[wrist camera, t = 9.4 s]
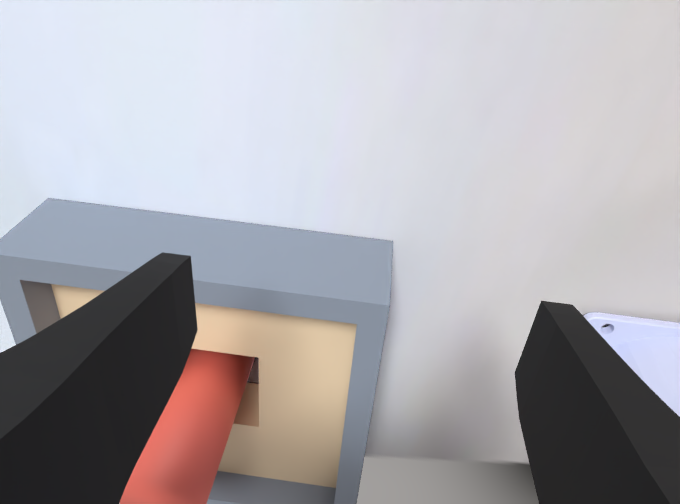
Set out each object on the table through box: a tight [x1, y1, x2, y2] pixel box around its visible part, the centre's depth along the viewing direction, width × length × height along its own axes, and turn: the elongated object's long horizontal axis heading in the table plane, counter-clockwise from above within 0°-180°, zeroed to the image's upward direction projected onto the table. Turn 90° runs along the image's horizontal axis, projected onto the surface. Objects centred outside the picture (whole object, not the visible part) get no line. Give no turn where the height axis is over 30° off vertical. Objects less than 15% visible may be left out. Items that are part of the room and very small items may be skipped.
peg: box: [120, 349, 255, 504], centre depth 22 cm, size 3×3×8 cm
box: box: [0, 198, 393, 504], centre depth 24 cm, size 14×14×4 cm
